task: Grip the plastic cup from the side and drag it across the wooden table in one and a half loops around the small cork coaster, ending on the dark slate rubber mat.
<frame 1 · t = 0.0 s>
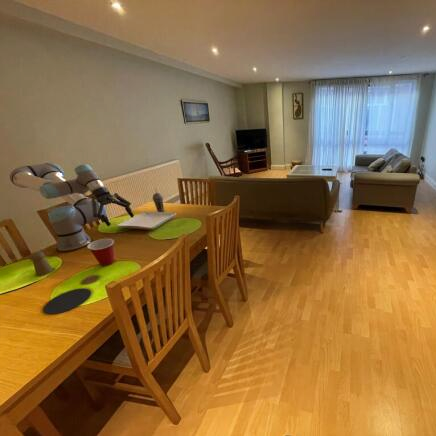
hand: (121, 220, 138), 15 cm above the table, tool tilted 35°, fingers open, 13 cm apart
square plate: (149, 223, 173), on the table
cork coaster: (90, 279, 112), on the table
pepper shaker: (45, 272, 118), on the table
plastic cup: (108, 263, 125), on the table
slate mat: (68, 300, 99), on the table
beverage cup: (161, 212, 194), on the table
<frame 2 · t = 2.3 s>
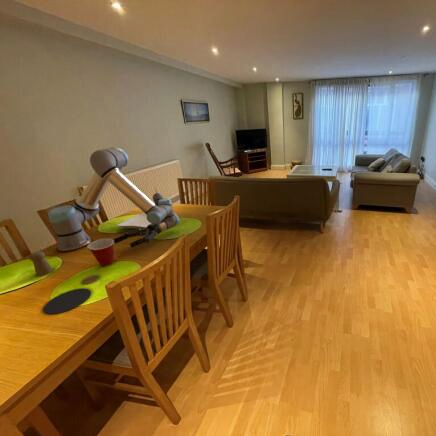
hand: (122, 243, 130), 7 cm above the table, tool horizontal, fingers open, 13 cm apart
nothing on the table moved.
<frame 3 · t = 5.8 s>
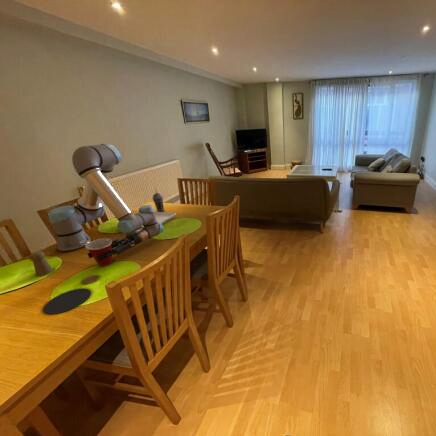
hand: (93, 257, 118), 7 cm above the table, tool horizontal, fingers closed on plastic cup, 6 cm apart
plastic cup: (106, 263, 125), on the table, touching gripper
everything else where it was.
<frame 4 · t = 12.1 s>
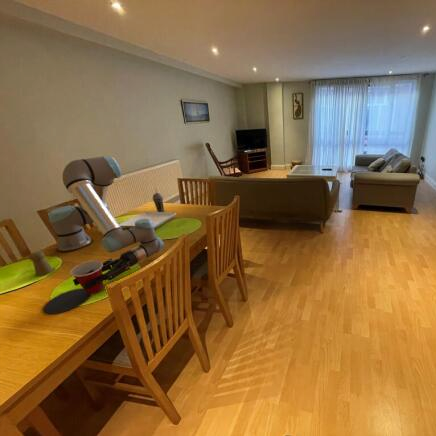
hand: (79, 284, 98), 7 cm above the table, tool horizontal, fingers closed on plastic cup, 6 cm apart
plastic cup: (96, 290, 105), on the table, touching gripper
everything else where it was.
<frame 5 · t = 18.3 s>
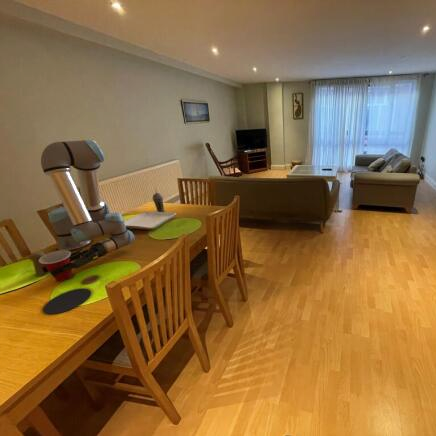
hand: (47, 272, 106), 7 cm above the table, tool horizontal, fingers closed on plastic cup, 6 cm apart
plastic cup: (65, 277, 113), on the table, touching gripper
everything else where it was.
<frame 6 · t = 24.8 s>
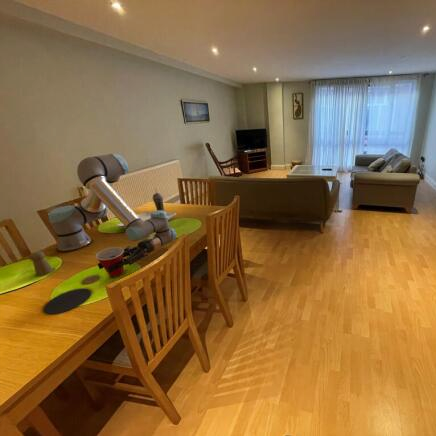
hand: (103, 268, 108), 7 cm above the table, tool horizontal, fingers closed on plastic cup, 6 cm apart
plastic cup: (117, 274, 116), on the table, touching gripper
everything else where it was.
when the fingers open (7 cm above the table, at t = 30.7 s): plastic cup stays where it is, resting on slate mat.
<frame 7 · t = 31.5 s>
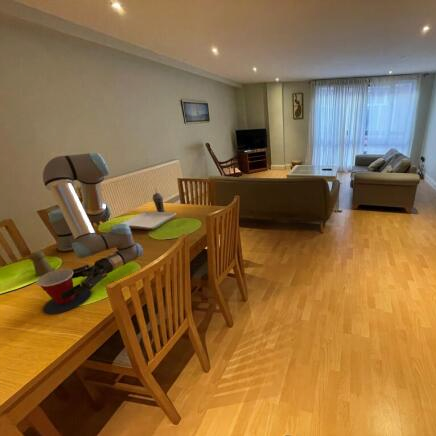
hand: (52, 292, 94), 7 cm above the table, tool horizontal, fingers open, 13 cm apart
plastic cup: (66, 300, 99), resting on slate mat
everything else where it was.
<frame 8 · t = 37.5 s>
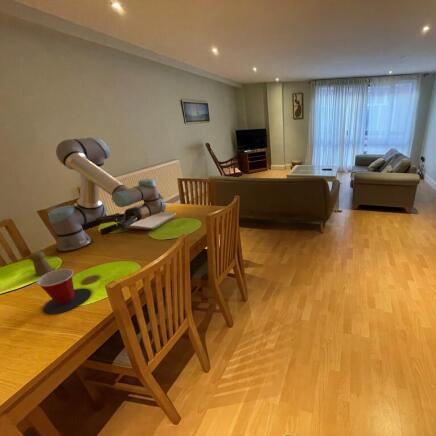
hand: (91, 230, 106), 24 cm above the table, tool horizontal, fingers open, 13 cm apart
nothing on the table moved.
at the end: plastic cup inside the target area on the slate mat (1.0 cm from its centre), point 0.0 cm above the slate mat's base; plastic cup tilted 0°; plastic cup moved 27.6 cm from its start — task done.
